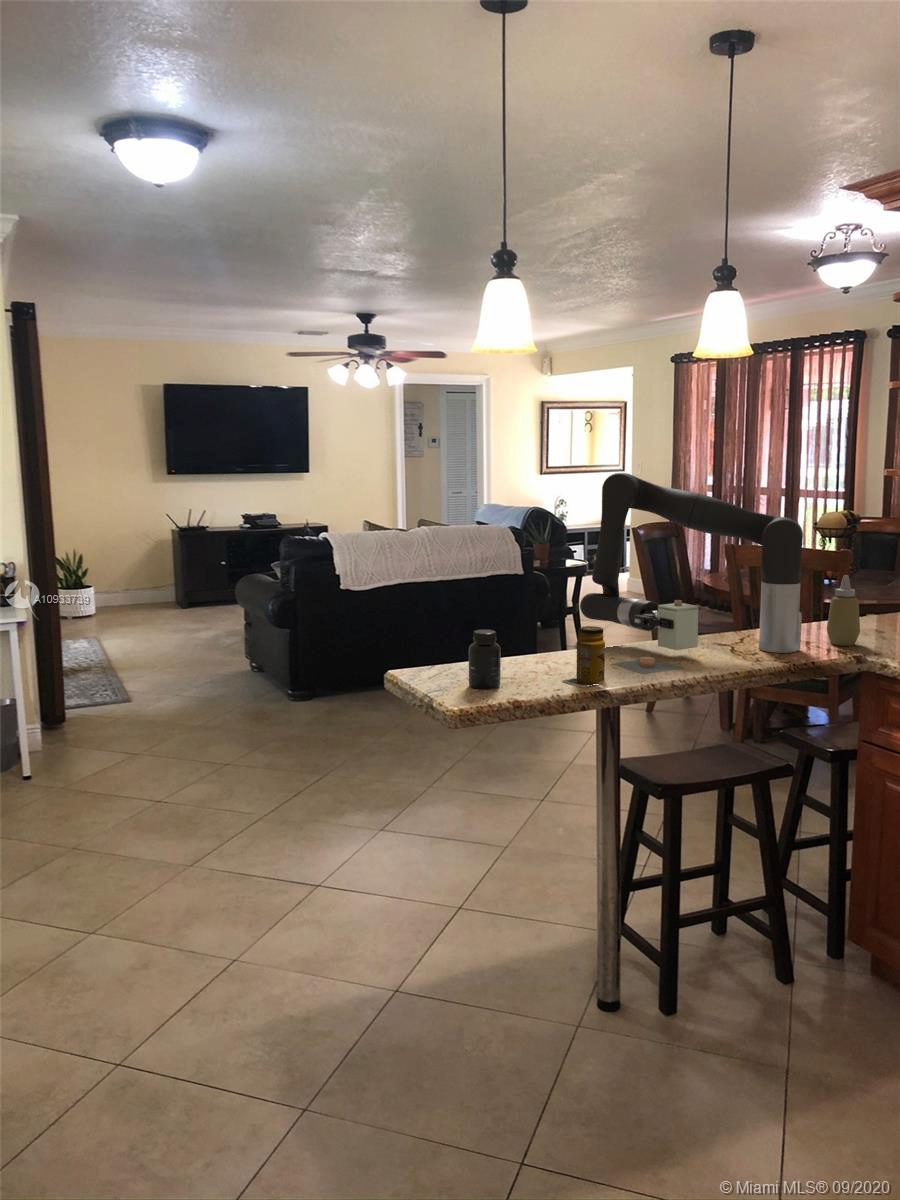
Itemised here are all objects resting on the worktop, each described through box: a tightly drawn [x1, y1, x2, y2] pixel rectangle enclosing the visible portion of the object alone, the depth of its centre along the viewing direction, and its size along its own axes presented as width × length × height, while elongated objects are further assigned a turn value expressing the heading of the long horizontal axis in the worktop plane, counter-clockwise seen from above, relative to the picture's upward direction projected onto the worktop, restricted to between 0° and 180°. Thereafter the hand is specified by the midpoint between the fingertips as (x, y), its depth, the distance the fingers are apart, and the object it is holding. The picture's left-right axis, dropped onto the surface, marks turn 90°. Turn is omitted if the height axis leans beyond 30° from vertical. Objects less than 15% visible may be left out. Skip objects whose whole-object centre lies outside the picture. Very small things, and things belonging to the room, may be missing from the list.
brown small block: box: [639, 656, 656, 667], centre depth 208 cm, size 3×3×2 cm
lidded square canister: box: [657, 599, 699, 651], centre depth 216 cm, size 7×7×11 cm
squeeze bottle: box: [826, 574, 861, 647], centre depth 233 cm, size 8×8×18 cm
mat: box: [611, 659, 684, 675], centre depth 209 cm, size 12×12×1 cm
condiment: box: [560, 625, 606, 688], centre depth 195 cm, size 7×8×12 cm
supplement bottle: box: [468, 629, 502, 691], centre depth 193 cm, size 7×7×12 cm
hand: (684, 623), depth 214 cm, fingers closed on lidded square canister, 6 cm apart
